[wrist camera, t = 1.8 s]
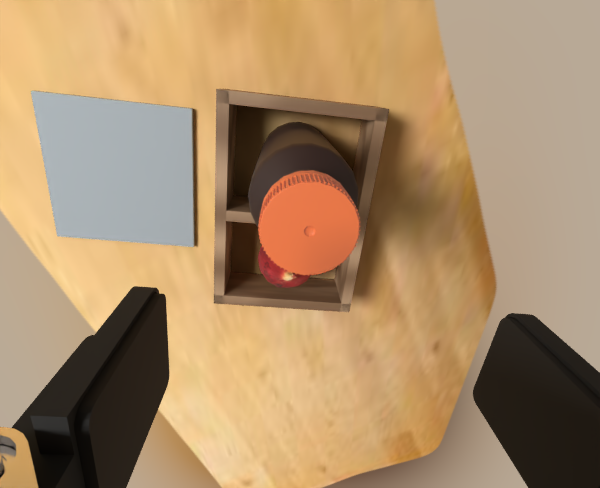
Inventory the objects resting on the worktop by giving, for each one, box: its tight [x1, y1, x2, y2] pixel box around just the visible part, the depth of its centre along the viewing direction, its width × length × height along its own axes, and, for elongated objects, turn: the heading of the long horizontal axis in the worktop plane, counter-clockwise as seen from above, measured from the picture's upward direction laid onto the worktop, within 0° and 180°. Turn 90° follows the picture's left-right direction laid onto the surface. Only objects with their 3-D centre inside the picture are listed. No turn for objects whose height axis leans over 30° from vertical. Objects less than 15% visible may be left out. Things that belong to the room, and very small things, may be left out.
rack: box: [214, 89, 389, 312], centre depth 34 cm, size 20×14×5 cm
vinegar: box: [248, 122, 361, 276], centre depth 26 cm, size 7×7×20 cm
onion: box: [258, 246, 311, 288], centre depth 35 cm, size 6×6×8 cm
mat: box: [31, 91, 195, 247], centre depth 34 cm, size 14×14×1 cm
